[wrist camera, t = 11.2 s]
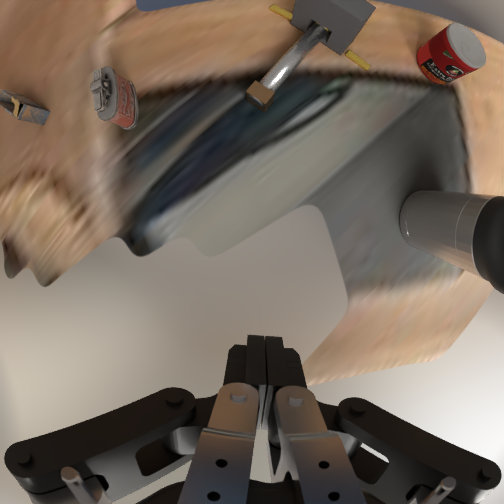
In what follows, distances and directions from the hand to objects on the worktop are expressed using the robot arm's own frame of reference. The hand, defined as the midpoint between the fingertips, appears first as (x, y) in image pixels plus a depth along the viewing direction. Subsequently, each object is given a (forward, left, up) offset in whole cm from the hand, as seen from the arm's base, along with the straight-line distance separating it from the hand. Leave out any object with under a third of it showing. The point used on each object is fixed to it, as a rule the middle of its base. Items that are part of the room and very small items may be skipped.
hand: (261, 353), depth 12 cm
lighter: (+18, -22, -29) cm, 40 cm away
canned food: (-32, -29, -29) cm, 52 cm away
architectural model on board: (+40, -28, -29) cm, 57 cm away
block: (-12, -32, -28) cm, 44 cm away
